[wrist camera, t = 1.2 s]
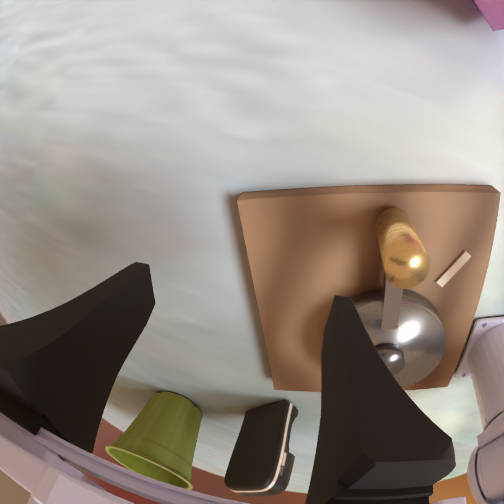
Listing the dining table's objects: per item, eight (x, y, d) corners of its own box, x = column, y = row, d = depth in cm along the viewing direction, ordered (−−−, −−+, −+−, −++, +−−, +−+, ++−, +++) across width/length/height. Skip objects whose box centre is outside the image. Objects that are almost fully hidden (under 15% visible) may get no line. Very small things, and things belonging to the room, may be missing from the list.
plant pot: (126, 374, 39) (87, 437, 30) (200, 383, 36) (165, 463, 26) (161, 420, 45) (134, 476, 35) (229, 431, 41) (206, 497, 31)
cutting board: (491, 185, 17) (501, 194, 16) (445, 375, 27) (447, 388, 25) (242, 192, 22) (235, 201, 21) (277, 378, 32) (274, 391, 30)
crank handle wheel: (427, 372, 24) (434, 419, 20) (323, 376, 27) (317, 423, 23) (464, 205, 17) (496, 245, 12) (314, 208, 20) (307, 250, 15)
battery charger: (263, 423, 37) (242, 499, 28) (244, 409, 36) (218, 488, 27) (307, 412, 34) (291, 498, 24) (288, 397, 33) (267, 488, 23)
